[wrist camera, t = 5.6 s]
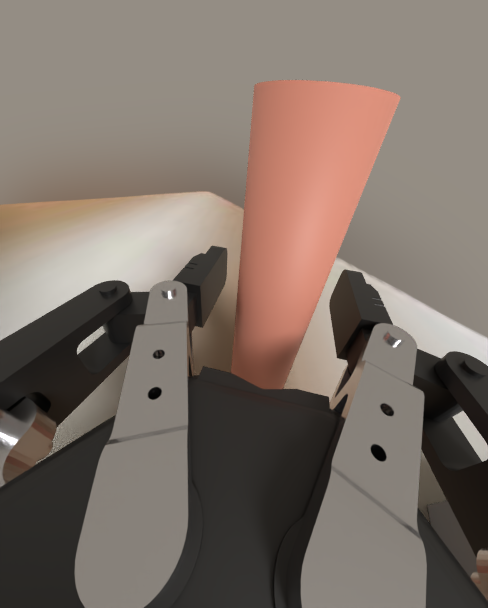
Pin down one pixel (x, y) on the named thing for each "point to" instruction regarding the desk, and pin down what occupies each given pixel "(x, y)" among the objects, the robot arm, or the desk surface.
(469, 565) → the grey square hole base
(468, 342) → the desk surface
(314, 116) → the peg
